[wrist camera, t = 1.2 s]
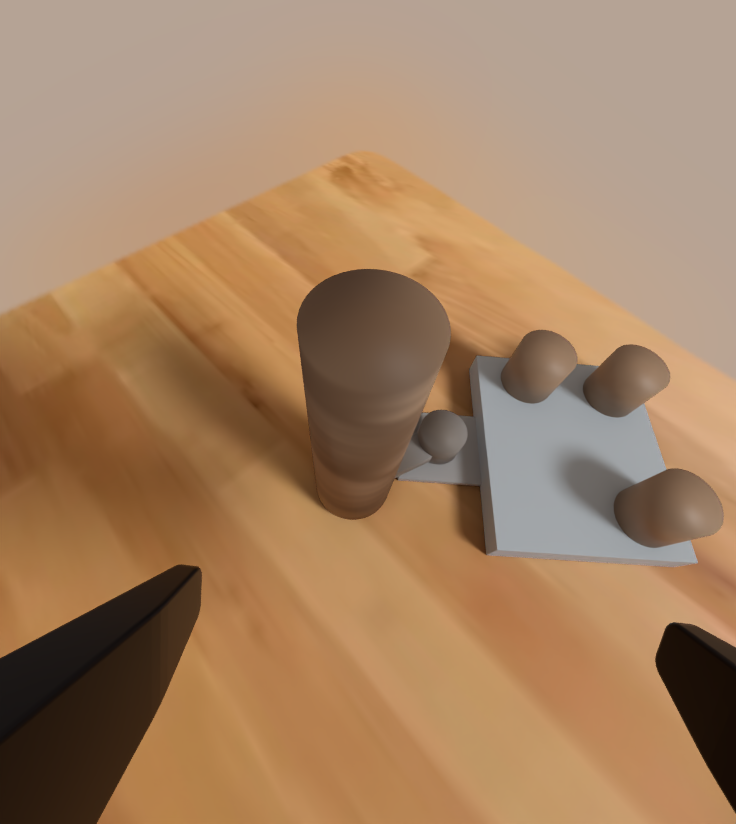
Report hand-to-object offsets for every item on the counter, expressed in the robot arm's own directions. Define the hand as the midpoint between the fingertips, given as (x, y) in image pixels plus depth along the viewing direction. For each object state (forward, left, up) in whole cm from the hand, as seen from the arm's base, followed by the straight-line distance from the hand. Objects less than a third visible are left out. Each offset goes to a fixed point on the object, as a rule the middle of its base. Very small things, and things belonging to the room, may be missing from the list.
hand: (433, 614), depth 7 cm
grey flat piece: (+13, +3, -13) cm, 19 cm away
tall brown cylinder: (+6, +6, -13) cm, 15 cm away
